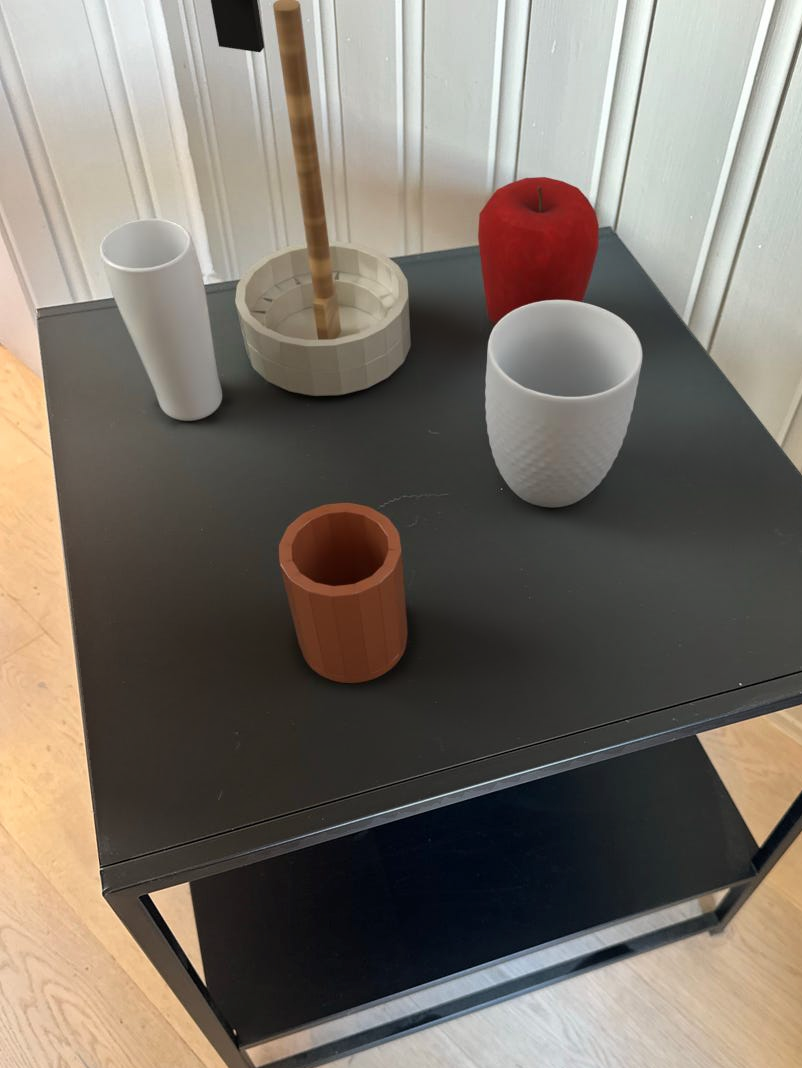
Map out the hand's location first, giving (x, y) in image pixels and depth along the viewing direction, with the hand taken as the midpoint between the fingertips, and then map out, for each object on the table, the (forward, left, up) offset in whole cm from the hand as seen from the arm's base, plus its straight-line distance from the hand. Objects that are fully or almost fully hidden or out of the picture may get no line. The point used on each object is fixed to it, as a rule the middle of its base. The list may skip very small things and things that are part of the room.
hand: (280, 2), depth 63 cm
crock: (+12, -30, -28) cm, 43 cm away
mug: (+22, -10, -28) cm, 37 cm away
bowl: (0, 0, -28) cm, 28 cm away
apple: (+17, +8, -28) cm, 34 cm away
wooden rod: (0, 0, -27) cm, 27 cm away
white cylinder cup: (-9, -10, -28) cm, 31 cm away
